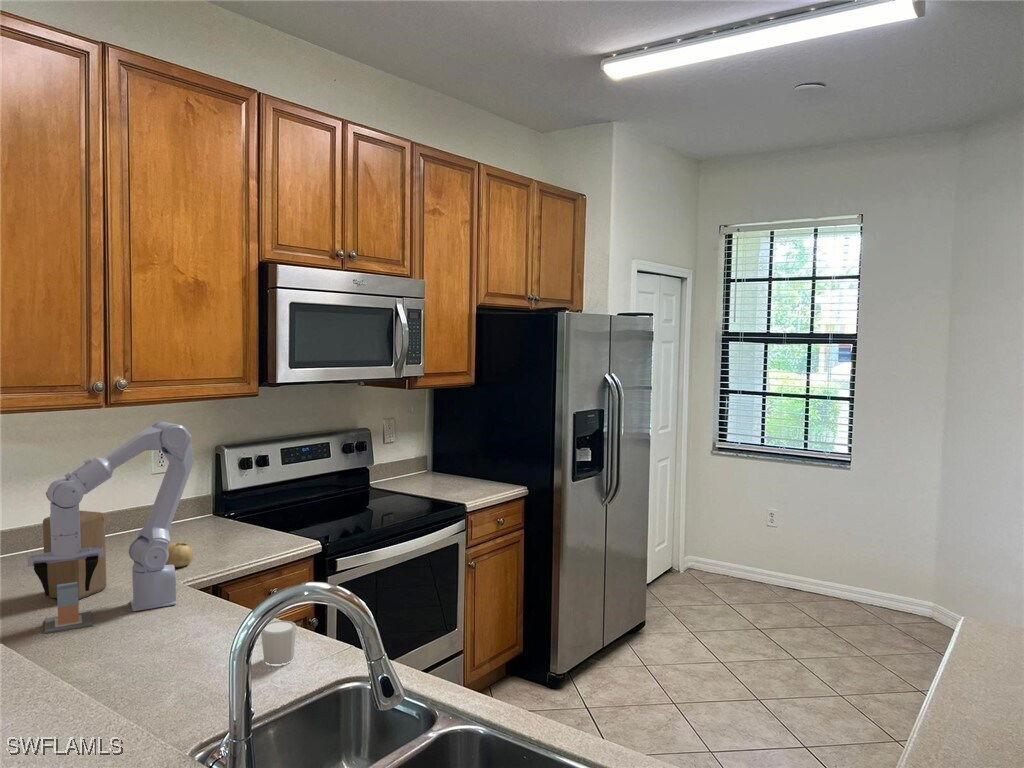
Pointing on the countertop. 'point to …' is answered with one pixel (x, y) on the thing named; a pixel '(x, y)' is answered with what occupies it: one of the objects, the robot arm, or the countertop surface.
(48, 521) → the wooden block
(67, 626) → the mat
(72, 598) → the blue brick
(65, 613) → the terracotta brick
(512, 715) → the countertop surface
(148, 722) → the countertop surface
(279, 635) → the white tapered cup
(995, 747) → the countertop surface
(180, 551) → the onion
